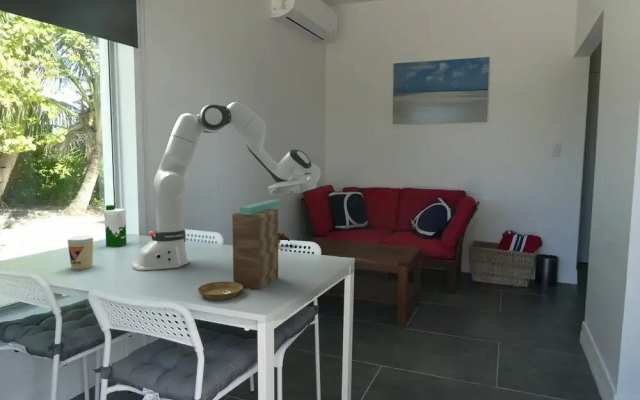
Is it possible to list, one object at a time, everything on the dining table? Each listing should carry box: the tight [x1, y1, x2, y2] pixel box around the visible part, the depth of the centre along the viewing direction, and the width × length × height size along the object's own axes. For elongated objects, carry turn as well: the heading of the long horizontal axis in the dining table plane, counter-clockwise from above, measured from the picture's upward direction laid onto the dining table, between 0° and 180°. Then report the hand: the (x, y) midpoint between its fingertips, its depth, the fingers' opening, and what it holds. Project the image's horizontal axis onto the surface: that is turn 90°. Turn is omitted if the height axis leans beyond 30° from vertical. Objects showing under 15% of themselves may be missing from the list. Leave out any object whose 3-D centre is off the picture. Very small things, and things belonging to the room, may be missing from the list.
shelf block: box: [231, 208, 279, 291], centre depth 169 cm, size 16×10×26 cm, turn 161°
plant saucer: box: [197, 281, 244, 301], centre depth 156 cm, size 15×15×3 cm
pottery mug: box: [278, 231, 291, 245], centre depth 232 cm, size 12×10×8 cm
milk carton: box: [103, 204, 127, 248], centre depth 231 cm, size 9×9×20 cm
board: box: [239, 199, 282, 215], centre depth 172 cm, size 26×4×2 cm, turn 161°
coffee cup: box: [67, 235, 94, 270], centre depth 190 cm, size 9×9×12 cm
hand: (282, 192), depth 188 cm, fingers open, 8 cm apart
